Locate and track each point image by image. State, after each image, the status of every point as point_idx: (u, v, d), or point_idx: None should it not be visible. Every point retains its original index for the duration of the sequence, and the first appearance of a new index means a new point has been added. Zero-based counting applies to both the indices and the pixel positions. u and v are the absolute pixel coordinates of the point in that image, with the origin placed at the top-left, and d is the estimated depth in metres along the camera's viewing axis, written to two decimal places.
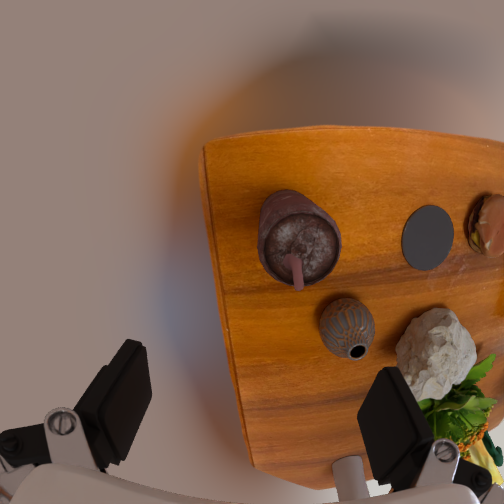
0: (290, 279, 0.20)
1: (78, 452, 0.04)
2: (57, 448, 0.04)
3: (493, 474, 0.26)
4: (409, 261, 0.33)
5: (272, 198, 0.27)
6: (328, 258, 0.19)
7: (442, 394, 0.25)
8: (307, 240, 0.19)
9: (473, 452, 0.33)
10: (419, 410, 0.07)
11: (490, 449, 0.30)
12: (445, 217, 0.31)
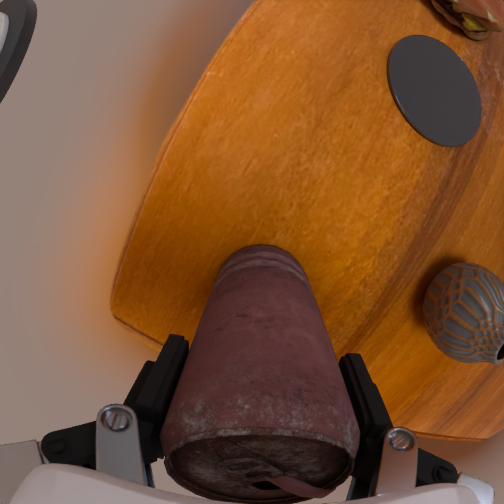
0: None
1: (127, 451, 0.05)
2: (105, 443, 0.05)
3: None
4: (454, 143, 0.15)
5: None
6: (325, 449, 0.06)
7: None
8: (249, 462, 0.06)
9: None
10: (376, 396, 0.08)
11: None
12: (422, 41, 0.13)
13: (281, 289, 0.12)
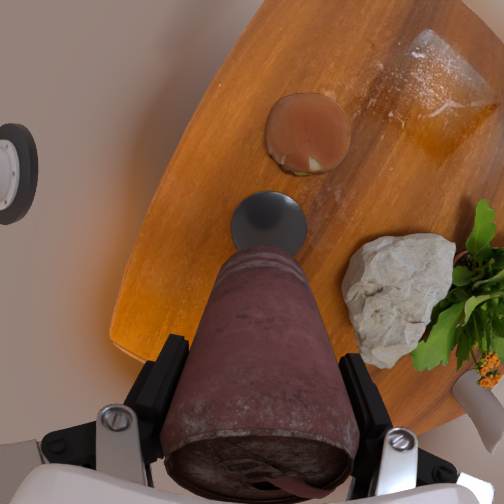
0: None
1: (127, 451, 0.05)
2: (105, 443, 0.05)
3: None
4: None
5: None
6: (324, 450, 0.06)
7: (410, 345, 0.24)
8: (249, 463, 0.06)
9: None
10: (376, 396, 0.08)
11: None
12: (259, 197, 0.32)
13: (281, 290, 0.12)
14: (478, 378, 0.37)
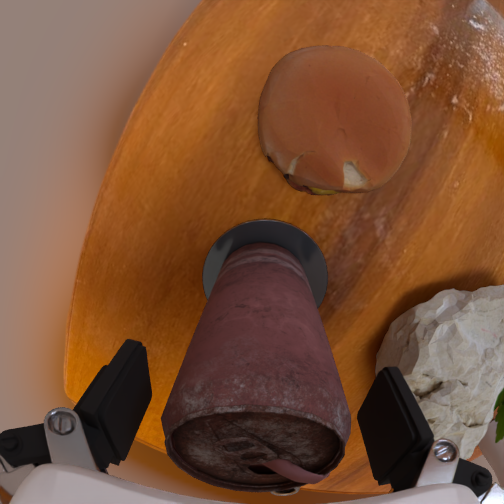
0: None
1: (78, 452, 0.04)
2: (57, 448, 0.04)
3: None
4: None
5: None
6: (316, 431, 0.06)
7: (464, 458, 0.10)
8: (245, 443, 0.07)
9: None
10: (419, 410, 0.07)
11: None
12: (248, 230, 0.19)
13: (279, 283, 0.12)
14: None
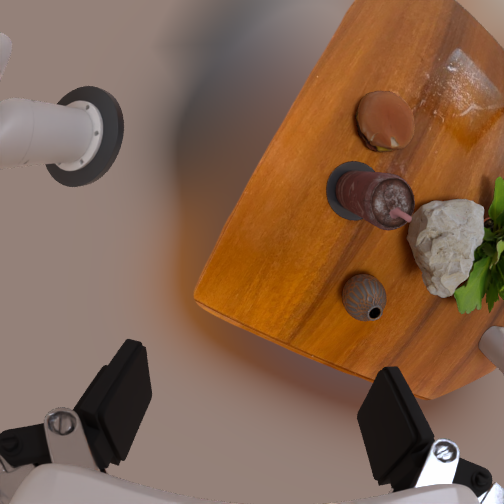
0: (402, 220, 0.27)
1: (78, 452, 0.04)
2: (57, 448, 0.04)
3: None
4: (359, 218, 0.40)
5: (343, 193, 0.35)
6: (406, 192, 0.26)
7: (465, 274, 0.30)
8: (390, 196, 0.26)
9: None
10: (419, 410, 0.07)
11: None
12: (348, 165, 0.38)
13: None
14: (500, 332, 0.43)
